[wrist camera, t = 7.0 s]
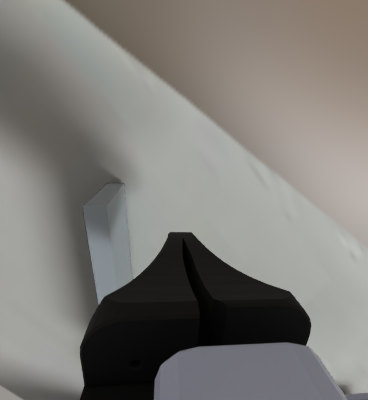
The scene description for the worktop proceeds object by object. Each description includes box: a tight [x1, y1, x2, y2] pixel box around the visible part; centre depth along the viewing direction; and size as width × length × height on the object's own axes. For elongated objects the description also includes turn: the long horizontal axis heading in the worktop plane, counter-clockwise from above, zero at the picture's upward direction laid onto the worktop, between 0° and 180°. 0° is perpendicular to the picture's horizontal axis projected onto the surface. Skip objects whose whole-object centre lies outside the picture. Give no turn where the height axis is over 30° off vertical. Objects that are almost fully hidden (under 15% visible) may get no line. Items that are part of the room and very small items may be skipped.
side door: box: [83, 183, 133, 304], centre depth 16 cm, size 17×2×5 cm, turn 179°
